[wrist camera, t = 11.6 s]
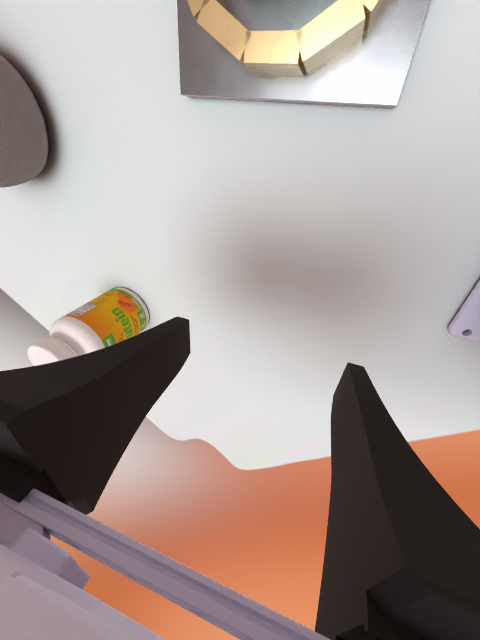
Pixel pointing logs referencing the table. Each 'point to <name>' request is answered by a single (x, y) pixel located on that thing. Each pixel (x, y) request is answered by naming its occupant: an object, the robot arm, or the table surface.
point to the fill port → (298, 49)
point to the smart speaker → (19, 129)
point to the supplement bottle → (92, 327)
